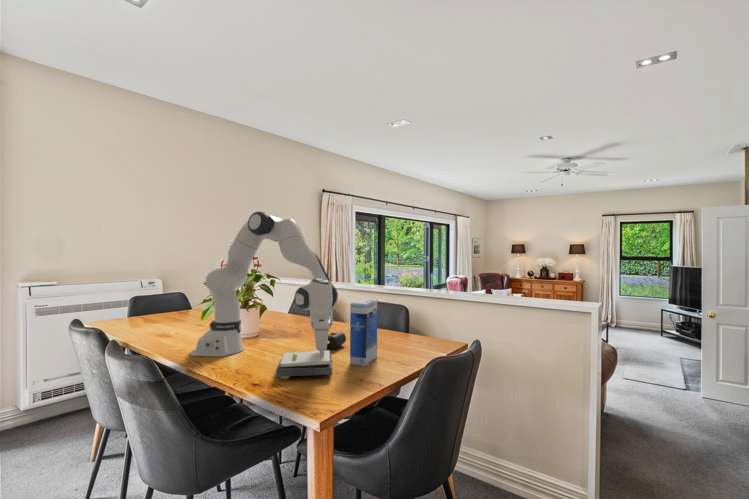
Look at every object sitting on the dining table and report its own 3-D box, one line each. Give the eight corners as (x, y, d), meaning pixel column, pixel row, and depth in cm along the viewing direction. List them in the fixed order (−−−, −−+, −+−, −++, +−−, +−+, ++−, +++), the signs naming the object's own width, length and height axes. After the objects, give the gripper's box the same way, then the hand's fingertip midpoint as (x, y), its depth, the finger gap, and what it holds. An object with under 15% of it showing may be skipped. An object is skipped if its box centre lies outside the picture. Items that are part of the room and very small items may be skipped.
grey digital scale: (276, 382, 133) (276, 369, 133) (282, 366, 150) (282, 355, 150) (332, 379, 135) (332, 367, 135) (331, 364, 153) (331, 353, 153)
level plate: (278, 367, 135) (277, 359, 135) (282, 356, 149) (282, 349, 148) (329, 364, 137) (329, 356, 137) (329, 353, 151) (329, 346, 151)
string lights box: (362, 355, 165) (362, 298, 165) (378, 357, 162) (378, 299, 162) (349, 364, 153) (349, 302, 153) (366, 366, 150) (366, 303, 150)
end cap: (336, 351, 172) (336, 336, 172) (323, 349, 175) (323, 335, 175) (346, 346, 181) (346, 332, 181) (333, 344, 184) (333, 331, 184)
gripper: (314, 315, 153) (314, 348, 153) (312, 326, 133) (312, 364, 133) (329, 315, 154) (329, 348, 154) (329, 325, 134) (330, 363, 134)
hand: (322, 355), depth 144 cm, fingers closed, pressing on level plate
